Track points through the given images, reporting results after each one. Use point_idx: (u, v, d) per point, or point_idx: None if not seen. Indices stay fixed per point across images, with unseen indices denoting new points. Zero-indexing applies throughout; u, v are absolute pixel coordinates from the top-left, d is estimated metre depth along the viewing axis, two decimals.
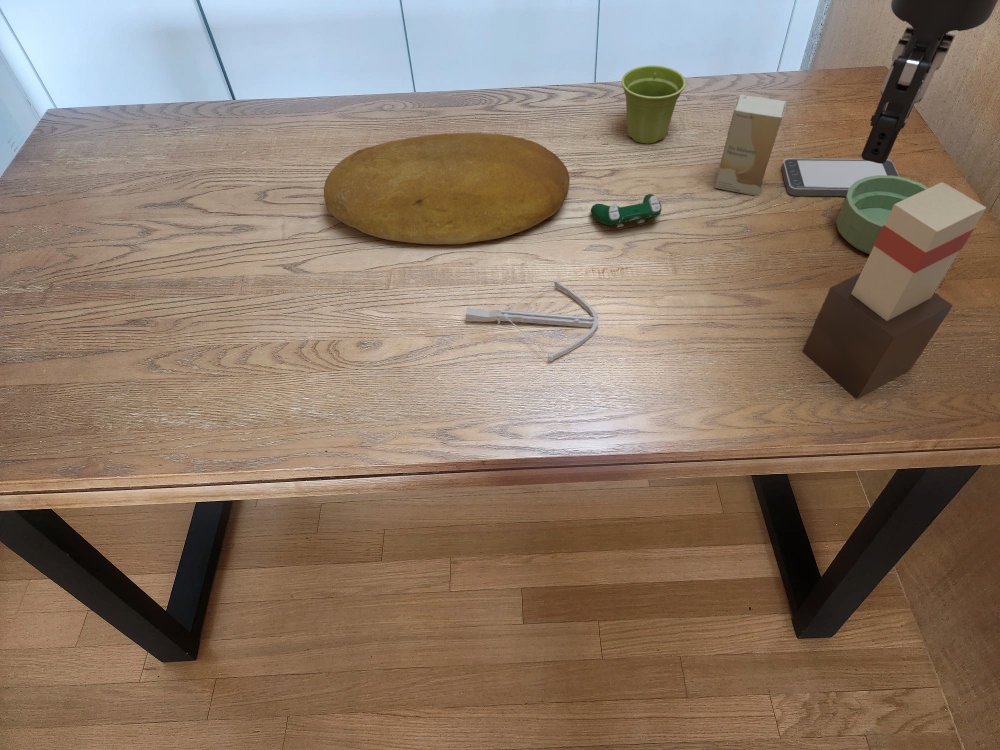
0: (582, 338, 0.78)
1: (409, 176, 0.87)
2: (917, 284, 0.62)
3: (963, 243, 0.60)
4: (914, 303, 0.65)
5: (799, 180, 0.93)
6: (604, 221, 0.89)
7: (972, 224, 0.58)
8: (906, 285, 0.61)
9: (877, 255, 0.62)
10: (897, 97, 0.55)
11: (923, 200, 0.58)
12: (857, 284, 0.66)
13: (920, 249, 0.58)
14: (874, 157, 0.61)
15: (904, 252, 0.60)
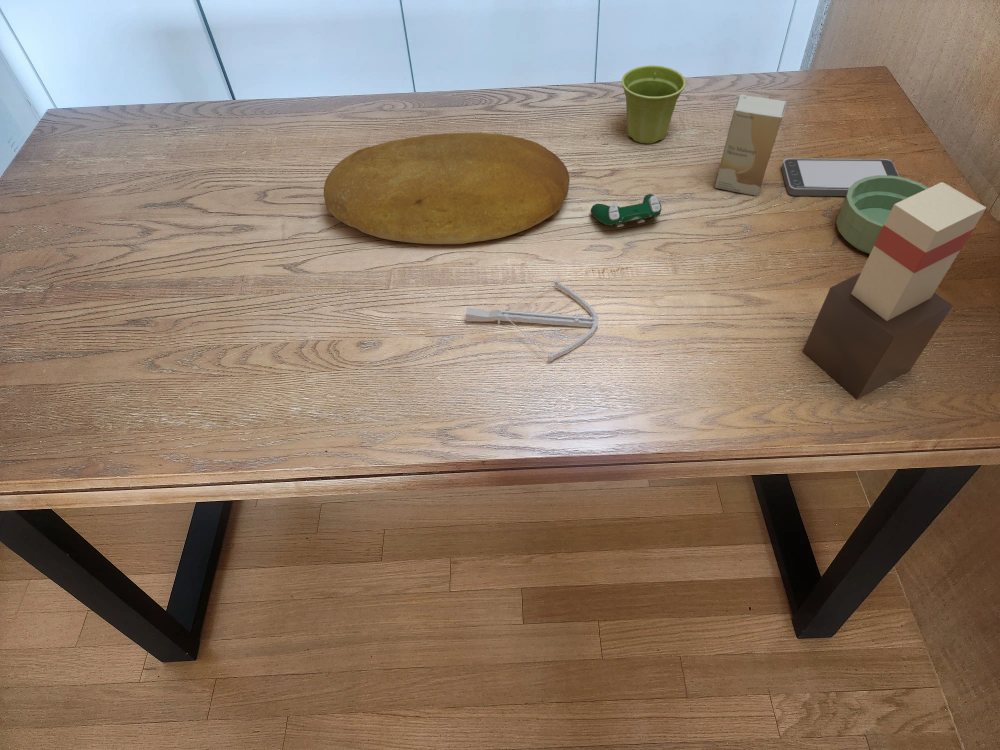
0: (582, 338, 0.78)
1: (409, 176, 0.87)
2: (917, 284, 0.62)
3: (963, 243, 0.60)
4: (914, 303, 0.65)
5: (799, 180, 0.93)
6: (604, 221, 0.89)
7: (972, 224, 0.58)
8: (906, 285, 0.61)
9: (877, 255, 0.62)
10: None
11: (923, 200, 0.58)
12: (857, 284, 0.66)
13: (920, 249, 0.58)
14: None
15: (904, 252, 0.60)
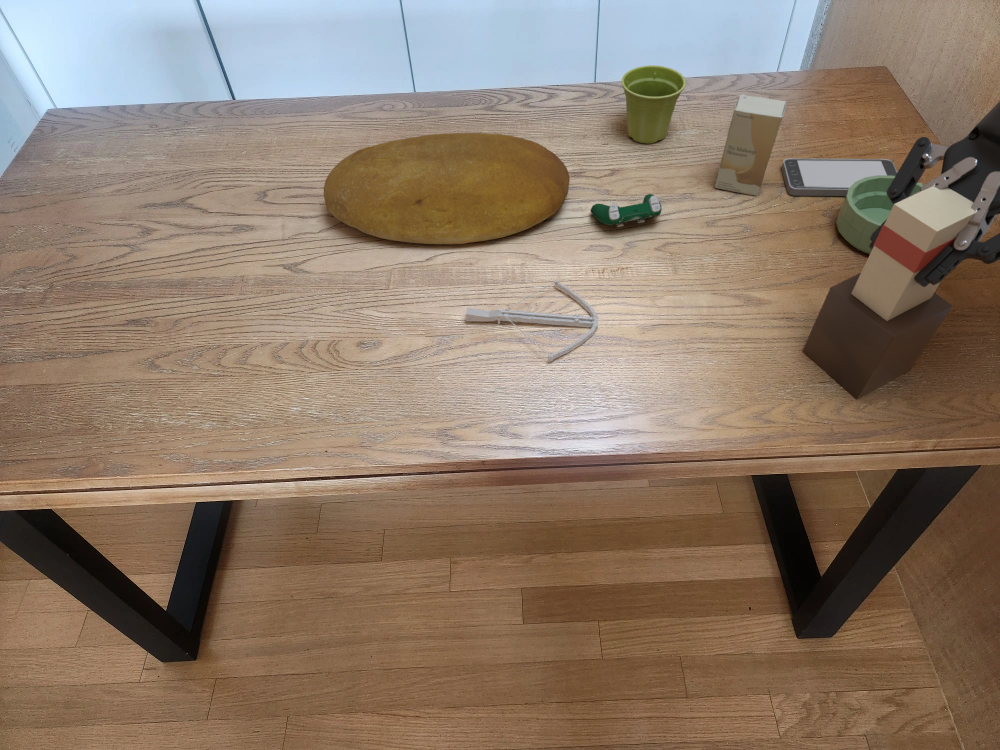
0: (582, 338, 0.78)
1: (409, 176, 0.87)
2: (917, 284, 0.62)
3: None
4: (915, 303, 0.65)
5: (799, 180, 0.93)
6: (604, 221, 0.89)
7: None
8: (906, 285, 0.61)
9: (877, 255, 0.62)
10: None
11: (923, 200, 0.58)
12: (857, 284, 0.66)
13: (920, 248, 0.58)
14: None
15: (904, 252, 0.60)
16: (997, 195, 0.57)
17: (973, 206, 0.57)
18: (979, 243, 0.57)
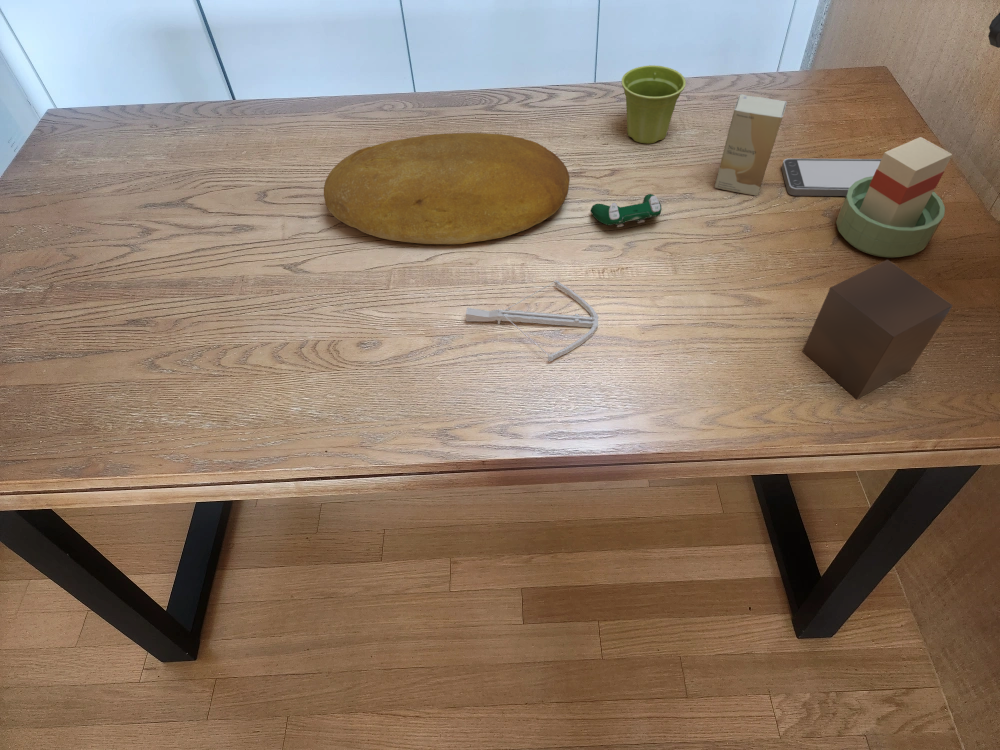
0: (582, 338, 0.78)
1: (409, 176, 0.87)
2: (902, 214, 0.82)
3: (936, 183, 0.80)
4: None
5: (799, 180, 0.93)
6: (604, 221, 0.89)
7: (942, 167, 0.78)
8: (893, 215, 0.81)
9: (872, 193, 0.82)
10: None
11: (906, 150, 0.79)
12: None
13: (904, 185, 0.78)
14: None
15: (892, 189, 0.80)
16: None
17: None
18: None
